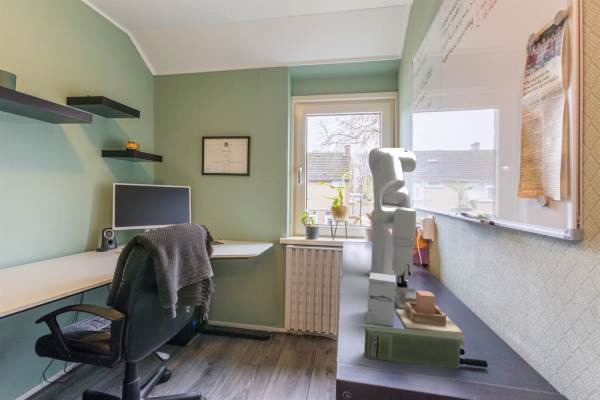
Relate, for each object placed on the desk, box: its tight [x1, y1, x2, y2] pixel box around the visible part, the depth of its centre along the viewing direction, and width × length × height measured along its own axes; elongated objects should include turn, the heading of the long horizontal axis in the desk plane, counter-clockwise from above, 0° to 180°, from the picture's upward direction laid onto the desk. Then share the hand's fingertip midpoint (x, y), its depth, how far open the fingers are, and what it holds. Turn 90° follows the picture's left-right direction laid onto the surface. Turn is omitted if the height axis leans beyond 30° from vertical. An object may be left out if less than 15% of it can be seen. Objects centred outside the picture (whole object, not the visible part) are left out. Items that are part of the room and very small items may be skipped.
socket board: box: [395, 302, 464, 336], centre depth 75 cm, size 12×14×4 cm
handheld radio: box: [363, 324, 488, 370], centre depth 57 cm, size 7×3×25 cm
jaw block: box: [415, 290, 436, 314], centre depth 76 cm, size 4×4×7 cm
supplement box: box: [366, 272, 397, 327], centre depth 76 cm, size 7×7×13 cm
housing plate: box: [394, 285, 416, 309], centre depth 88 cm, size 8×7×4 cm
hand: (401, 293), depth 94 cm, fingers closed
